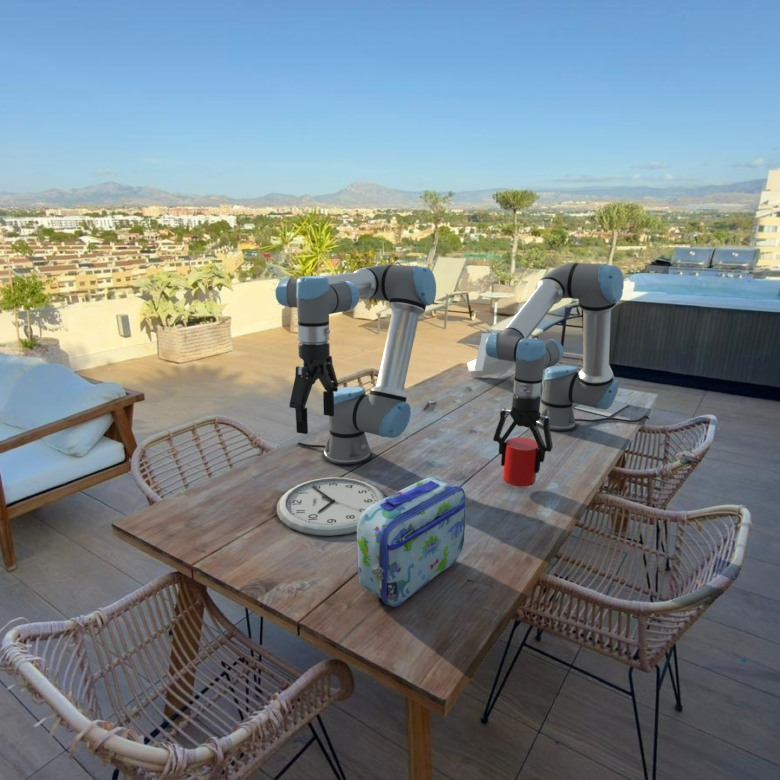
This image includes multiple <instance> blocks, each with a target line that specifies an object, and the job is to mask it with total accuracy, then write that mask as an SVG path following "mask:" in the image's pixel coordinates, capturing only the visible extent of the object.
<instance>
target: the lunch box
mask: <svg viewBox="0 0 780 780" xmlns="http://www.w3.org/2000/svg"><path fill="white" fill-rule="evenodd" d="M465 528H466V494H465V490H464V489H463V487H461V486H458V485H456V486H454V485H451V484H450V483H448V482H446V481H444V480H442V479H440V478H438V477H436V476H430V477H426V478H424V479H421V480H420V481H417V482H415V483H413V484H411V485H409V486H407V487H405V488H402V489H401V490H399V491H396V492H395V493H393V494H390V495H389V496H387V497H385V499H383V500H381V501H379V502H377V503H375V504H373V505H371V506H369V507H368V508H367V509H366V510H365V511H364V512H363V513H362V515H361V517H360V519H359V522H358V526H357V532H356V549H357V550H356V551H357V552H356V553H357V577H358V583H359V585H360V587H361V588H362V589H364V590H366V591H368V592H370V593H372V594H374V595H375V596H377V598H379V599H381V600H382V602H383V603H384V604H385V605H387V606H390V607H393V608H394V607H398V606H400V605H402V604H403V603H404V602H405V601H406V600H408V599H409V598H410V597H411V596H412V595H414V594H416V592H418V591H419V590H420V589H422V588H423V587H424V586H426V585H427V584H428V583H430V582H431V581H432V579H434V578H435V577H436V576H438V575H439V574H440V573H442V572H444V571H446V570H447V569H449V568H450V567H451V566H452V565H454V563H456V561H457V560H458V558H459V557H460V555H461V553H462V550H463V547H464V542H465V530H466V529H465Z"/></svg>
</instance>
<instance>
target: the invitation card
mask: <svg viewBox="0 0 780 780" xmlns="http://www.w3.org/2000/svg"><path fill="white" fill-rule="evenodd" d="M628 406H629V404H627V403H623V402H618V401H615V400H614V401H613V403H612V405H611V406H610V407H609V408H608V409H599V408H597V409H596V408H594V407H589V406H585V405H580V404H577V405H575V406H574V407H573V409H575V410H581V411H584V412H587V413H593V414H596V415H600V416H604V417H607V418H610V417H611V416H613V415H614V414H616V413H617V412H619V411H621V410H623V409H624V408H626V407H628Z"/></svg>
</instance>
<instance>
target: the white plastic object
mask: <svg viewBox="0 0 780 780" xmlns="http://www.w3.org/2000/svg"><path fill="white" fill-rule="evenodd" d="M521 308H522V307H521V306H519V307H517V311H518V312H519V311H520V309H521ZM490 334H491V333H490V332H489V333H487V332H486V333H481V336H480V337H481V338H480V342H479V346H478V347H479V348H478V351H477V355H476V358H475V359H473V360H470V361H468V362H466V365H467V369H468V373H469V374H470V375H471V376H472V377H473V378H476V377H483V376H491V375H492V376H493V375H498V376H501V375H504V374H507V373H508V372H509V370H510V369H512V368H513V367H514V366H516V362H512V361H507V360H501V359H500V360H499V359H496V358H492V357H489V356H488V355H487V354H486V350H485V343H486V339H487V337H488V336H489V335H490ZM529 338H530V339H538V338H537V337H535V338H534V337H532V334H531V335H530V337H529ZM548 368H549V367H548ZM548 368H546V369H548ZM546 369H544V370H543V371H544V372H545V371H546Z"/></svg>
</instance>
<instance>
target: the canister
mask: <svg viewBox="0 0 780 780" xmlns="http://www.w3.org/2000/svg"><path fill="white" fill-rule="evenodd" d="M505 442H506V450H505V462H504V466H503V475H502V476H503V477H502V479H503V481H504V482H505V483H507V484H509V485H510V486H514V487H519V488H528V487H531V486H533V485H534V484H535V483H536V478H537V477H536V476H537V473H535V468H536V458H537V451H538V450H539V447H538V445H537V443H536V440H535V439H532V438H529V437H528V438H527V437H522V436H521V437H518V436H517V437H511V438H507V439H506V440H505Z"/></svg>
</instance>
